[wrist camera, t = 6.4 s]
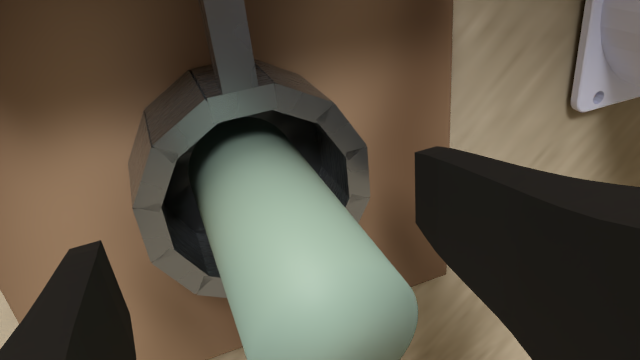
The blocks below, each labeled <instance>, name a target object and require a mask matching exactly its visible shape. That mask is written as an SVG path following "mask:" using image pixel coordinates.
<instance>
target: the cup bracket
mask: <svg viewBox="0 0 640 360" xmlns="http://www.w3.org/2000/svg"><path fill="white" fill-rule="evenodd" d="M452 25H453V0H0V290H1V291H2V293H3V295H4V297H5V299H6V300H7V302H8V304H9V306H10V308H11V310H12V311H13V313H14V315H15V317H16V319H17V321H18V322H19V324H20V323H21V321H22V320H23V319H24V317H25V316H26V314H27V313H28V311H29V310H30V308H31V307H32V305H33V304H34V302H35V301H36V299H37V298H38V296H39V295H40V293H41V292H42V290H43V289H44V287H45V286H46V284H47V282H48V281H49V279H50V278H51V276H52V275H53V273H54V271H55V270H56V268H57V267H58V265H59V264H60V262H61V261H62V259H63V258H64V256H65V255H66V253H67V252H68V250H69V249H71V248H74V247H78V246H82V245H85V244H89V243H92V242H96V241H99V240H101V241H102V244H103V246H104V249H105V252H106V254H107V257H108V259H109V262H110V264H111V267H112V269H113V272H114V274H115V277H116V279H117V282H118V285H119V287H120V290H121V292H122V295H123V297H124V300H125V302H126V305H127V307H128V310H129V313H130V316H131V323H132V329H133V336H134V343H135V350H136V360H207V359H210V358H213V357H216V356H218V355H221V354H224V353H227V352H230V351H232V350H235V349H238V348H241V347H243V345H242V342H241V339H240V336H239V333H238V330H237V327H236V324H235V320H234V317H233V314H232V311H231V308H230V305H229V302H228V299H227V296H226V293H225V290H224V286H223V283H222V280H221V277H220V274H219V271H218V268H217V265H216V262H215V259H214V256H213V252H212V249H211V246H210V243H209V240H208V237H207V234H206V231H205V228H204V225H203V222H202V218H201V215H200V212H199V209H198V206H197V203H196V200H195V197H194V194H193V191H192V187H191V184H190V181H189V176H188V166H189V160H190V156H191V154H192V151H193V149H194V147H195V145H196V144H197V142H198V141H199V140H200V139H201V138H202V137H203V136H204V135H205V134H206V133H207V132H208V131H210V130H211V129H212V128H213V127H214V126H216V125H217V124H219V123H221V122H224V121H227V120H231V119H236V118H240V117H255V118H260V119H263V120H266V121H268V122H270V123H272V124H274V125H275V126H277V127H278V128H279V129H280V130H281V131H282V132H283V133H284V134H285V135H286V136H287V138H288V139H289V140H290V141H291V143H292V144H293V145H294V146H295V147H296V149H297V150H298V151H299V152H300V153H301V155H302V156H303V157H304V158H305V159H306V161H307V162H308V163H309V164H310V166H311V167H312V168H313V169H314V170H315V172H316V173H317V174H318V175H319V176H320V178H321V179H322V180H323V181H324V183H325V184H326V185H327V186H328V187H329V189H330V190H331V191H332V192H333V193H334V195H335V196H336V197H337V198H338V199H339V201H340V202H341V203H342V204H343V206H344V207H345V208H346V209H347V210H348V212H349V213H350V214H351V215H352V216H353V218H354V219H355V220H356V221H357V223H358V224H359V225H360V226H361V227H362V229H363V230H364V231H365V232H366V233H367V235H368V236H369V237H370V238H371V239H372V241H373V242H374V243H375V244H376V246H377V247H378V248H379V249H380V250H381V252H382V253H383V254H384V255H385V256H386V258H387V259H388V260H389V261H390V263H391V264H392V265H393V266H394V267H395V269H396V270H397V271H398V272H399V273H400V275H401V276H402V277H403V278H404V279H405V281H406V282H407V283H408V285H409V286H410V287H412V286H415V285H417V284H420V283H423V282H426V281H429V280H431V279H434V278H437V277H440V276H443V275H445V274H446V263H445V262H444V261H443V259H442V258H441V257H440V256H439V255H438V254H437V253H436V251H435V250H434V249H433V247H432V246H431V245H430V243H429V242H428V241H427V239H426V238H425V236H424V235H423V233H422V232H421V230H420V229H419V227H418V226H417V224H416V223H415V152H417V151H421V150H425V149H428V148H432V147H435V146H440V147H447V148H449V143H450V104H451V64H452Z"/></svg>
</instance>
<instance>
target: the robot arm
mask: <svg viewBox="0 0 640 360" xmlns="http://www.w3.org/2000/svg"><path fill="white" fill-rule="evenodd" d="M594 96H595V97H594ZM637 97H640V0H586V2H585V8H584V15H583V22H582V28H581V35H580V42H579V48H578V55H577V62H576V69H575V75H574V82H573V89H572V95H571V106H572V108H573V109H575V110H577V111H579V112H588V111H591V110H595V109H598V108H602V107H605V106H609V105H612V104H616V103H620V102H623V101H627V100H630V99H634V98H637ZM415 223H416V224H417V226H418V227H419V229H420V230H421V232H422V233H423V235H424V236H425V238H426V239H427V241H428V242H429V243H430V245H431V246H432V247H433V249H434V250H435V251H436V253H437V254H438V255H439V256H440V257H441V258H442V259H443V261H444V262H445V263H446V264H447V265H448V266H449V267H450V268H451V269H452V270H453V271H454V272H455V273H456V274H457V275H458V276H459V277H460V279H461V280H462V281H463V282H464V283H465V284H466V285H467V286H468V287H469V288H470V289H471V290H472V291H473V292H474V293H475V294H476V295H477V296H478V297H479V298H480V299H481V300H482V301H483V302H484V303H485V304H486V305H487V306H488V308H489V309H490V310H491V311H492V312H493V313H494V314H495V315H496V316H497V317H498V318H499V319H500V320H501V321H502V323H503V324H504V325H505V326H506V327H507V328H508V329H509V330H510V332H511V333H512V334H513V335H514V337H515V338H516V339H517V341H518V342H519V343H520V344H521V346H522V347H523V348H524V350H525V351H526V352H527V354H528V355H529V356H530V357H531V359H532V360H640V187H634V186H625V185H617V184H610V183H603V182H596V181H589V180H583V179H578V178H572V177H567V176H562V175H558V174H553V173H548V172H544V171H539V170H535V169H531V168H527V167H523V166H519V165H515V164H511V163H507V162H503V161H499V160H495V159H492V158H488V157H484V156H480V155H477V154H473V153H469V152H465V151H461V150H456V149H452V148H447V147H440V146H435V147H432V148H428V149H425V150H421V151H417V152H415ZM0 360H136V350H135V343H134V336H133V329H132V323H131V316H130V313H129V310H128V307H127V305H126V302H125V300H124V297H123V295H122V292H121V290H120V287H119V285H118V282H117V279H116V277H115V274H114V272H113V269H112V267H111V264H110V262H109V259H108V257H107V254H106V252H105V249H104V246H103V244H102V241H101V240H99V241H96V242H92V243H89V244H85V245H82V246H78V247H74V248H71V249H69V250H68V252H67V253H66V255H65V256H64V258H63V259H62V261H61V262H60V264H59V265H58V267H57V268H56V270H55V271H54V273H53V275H52V276H51V278H50V279H49V281H48V282H47V284H46V286H45V287H44V289H43V290H42V292H41V293H40V295H39V296H38V298H37V299H36V301H35V302H34V304H33V305H32V307H31V308H30V310H29V311H28V313H27V314H26V316H25V317H24V319H23V320H22V321H21V323H20V324H19V325H18V327H17V328H16V329H15V331H14V332H13V333H12V335H11V336H10V337H9V339H8V340H7V341H6V343H5V344H4V345H3V346H2V348H1V349H0Z"/></svg>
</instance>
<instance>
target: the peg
mask: <svg viewBox="0 0 640 360" xmlns="http://www.w3.org/2000/svg"><path fill="white" fill-rule="evenodd" d="M188 176H189V181H190V184H191V187H192V191H193V194H194V197H195V200H196V203H197V206H198V209H199V212H200V215H201V218H202V222H203V225H204V228H205V231H206V234H207V237H208V240H209V243H210V246H211V249H212V252H213V256H214V259H215V262H216V265H217V268H218V271H219V274H220V277H221V280H222V283H223V286H224V290H225V293H226V296H227V299H228V302H229V305H230V308H231V311H232V314H233V317H234V320H235V324H236V327H237V330H238V333H239V336H240V339H241V342H242V345H243V348H244V351H245V355H246V358H247V360H400V359H401V357H402V356H403V354H404V353H405V351H406V350H407V348H408V346H409V344H410V342H411V340H412V338H413V336H414V333H415V330H416V325H417V321H418V305H417V301H416V297H415V294H414V292H413V290H412V288H411V287H410V286H409V285H408V283H407V282H406V281H405V279H404V278H403V277H402V276H401V275H400V273H399V272H398V271H397V270H396V269H395V267H394V266H393V265H392V264H391V263H390V261H389V260H388V259H387V258H386V256H385V255H384V254H383V253H382V252H381V250H380V249H379V248H378V247H377V246H376V244H375V243H374V242H373V241H372V239H371V238H370V237H369V236H368V235H367V233H366V232H365V231H364V230H363V229H362V227H361V226H360V225H359V224H358V223H357V221H356V220H355V219H354V218H353V216H352V215H351V214H350V213H349V212H348V210H347V209H346V208H345V207H344V206H343V204H342V203H341V202H340V201H339V199H338V198H337V197H336V196H335V195H334V193H333V192H332V191H331V190H330V189H329V187H328V186H327V185H326V184H325V183H324V181H323V180H322V179H321V178H320V176H319V175H318V174H317V173H316V172H315V170H314V169H313V168H312V167H311V166H310V164H309V163H308V162H307V161H306V159H305V158H304V157H303V156H302V155H301V153H300V152H299V151H298V150H297V149H296V147H295V146H294V145H293V144H292V143H291V141H290V140H289V139H288V138H287V136H286V135H285V134H284V133H283V132H282V131H281V130H280V129H279V128H278V127H277V126H275V125H274V124H272V123H270V122H268V121H266V120H263V119H260V118H255V117H240V118H236V119H231V120H227V121H224V122H221V123H219V124H217V125H216V126H214V127H213V128H212V129H211V130H210V131H208V132H207V133H206V134H205V135H204V136H203V137H202V138H201V139H200V140H199V141H198V142H197V144H196V145H195V147H194V149H193V151H192V154H191V156H190V160H189V166H188Z"/></svg>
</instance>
